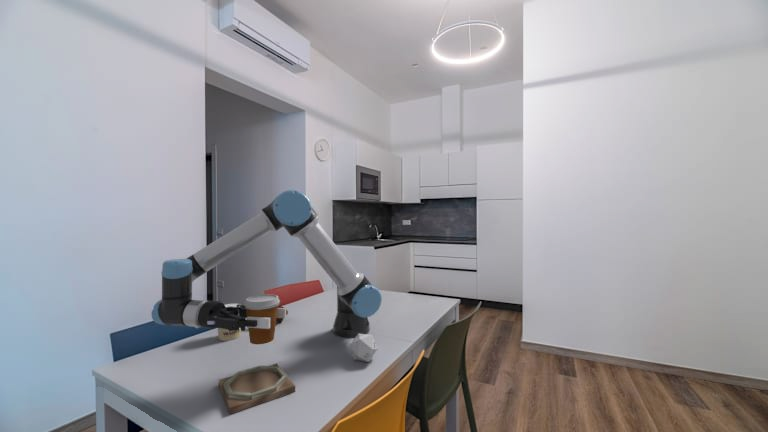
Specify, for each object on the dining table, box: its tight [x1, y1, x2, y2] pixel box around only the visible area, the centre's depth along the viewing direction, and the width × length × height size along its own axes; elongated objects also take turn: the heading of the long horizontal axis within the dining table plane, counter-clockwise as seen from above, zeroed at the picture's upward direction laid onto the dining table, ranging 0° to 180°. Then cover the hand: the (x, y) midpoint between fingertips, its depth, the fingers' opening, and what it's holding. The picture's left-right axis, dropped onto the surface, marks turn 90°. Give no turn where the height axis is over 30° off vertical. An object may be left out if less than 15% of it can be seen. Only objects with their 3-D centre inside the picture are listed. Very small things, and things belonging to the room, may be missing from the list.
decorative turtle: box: [276, 305, 289, 324], centre depth 137 cm, size 10×15×8 cm, turn 158°
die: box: [348, 333, 378, 363], centre depth 101 cm, size 8×9×10 cm
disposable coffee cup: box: [243, 293, 281, 345], centre depth 87 cm, size 10×10×12 cm
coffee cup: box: [217, 303, 242, 342], centre depth 121 cm, size 9×9×12 cm
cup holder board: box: [218, 363, 296, 415], centre depth 84 cm, size 16×16×2 cm
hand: (277, 318), depth 86 cm, fingers closed on disposable coffee cup, 8 cm apart
